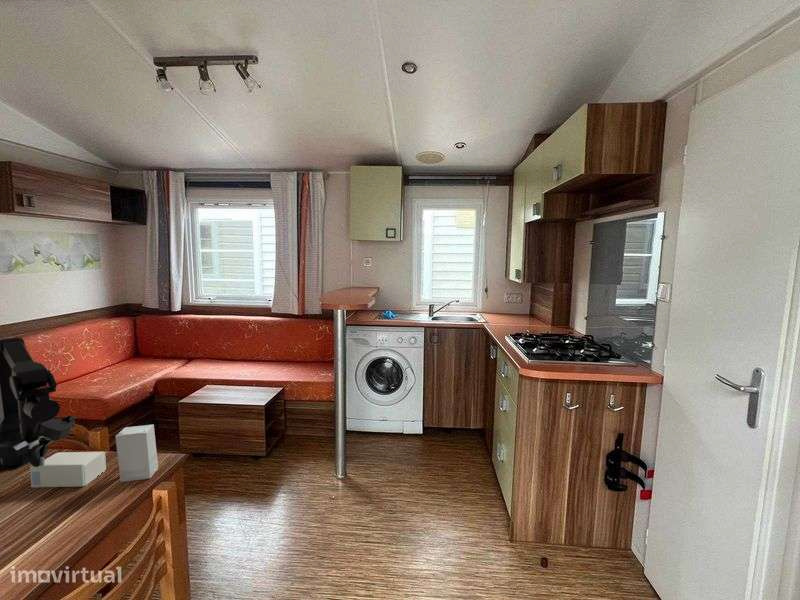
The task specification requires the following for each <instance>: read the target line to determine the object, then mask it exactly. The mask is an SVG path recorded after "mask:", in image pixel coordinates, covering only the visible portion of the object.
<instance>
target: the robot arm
mask: <svg viewBox="0 0 800 600" xmlns="http://www.w3.org/2000/svg"><path fill="white" fill-rule="evenodd" d="M57 386H58V384H57V381H56V379H55V377H54V374H53V373H52V372H51V370H50V369H47V367H46V366H45V365H44V364H43V363H40V362H36V361H35V360H34V359H33V358H32V356H31V355H30V353H29V352H28V350H27V347H26V343H25V340H24V339H23V337H19V336H16V337H7V338H6V337H5V338H0V470H16V469H18V468H21V467H22V466H24V465H25V464H28V463H30V465H33V466H34V467H38V466H39V463H40V457H44V458H45V457H46V455H47V451H48V450H49V449H48V448H49V446H50V444H51V443H53V442H54V441H56V442H57V441H60V440H62V438H65V437H66V436H69V435H70V432H71V430H72V429H73V428H75V427H76V418H75V416H74V415H72V414H68V415H66V416H65V417H63V418H61V417H60V418H56V417H57V416H58V414H59V412H60V409H61V406H60V404H59V402H57V401H56V400H54V399H52V398H51V397H50V393H51V394H52V393H56V392H57Z"/></svg>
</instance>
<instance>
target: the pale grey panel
mask: <svg viewBox="0 0 800 600" xmlns="http://www.w3.org/2000/svg"><path fill="white" fill-rule="evenodd" d="M44 460H45V457H40V463H39V466H38V467H34V466H33V465H32V464H30V465H29V473H30V475H29V476H30V484H31V486H30V487H31V488H59V487H60V488H63V487H64V488H65V487H66V488H67V487H69V488H70V487H71V488H72V487H73V488H74V487H84V485H85V479H84V464H45V461H44Z"/></svg>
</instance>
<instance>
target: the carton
mask: <svg viewBox="0 0 800 600" xmlns="http://www.w3.org/2000/svg"><path fill="white" fill-rule="evenodd" d="M44 461H45V464H84V479H85V485H84V486H85V487H86V486H87V485H89V484H90V483H91V482H93V481H94V480H95V479H97V478H98V477H99V476H100V475H102V474H103V473H105V472H106V471H107V463H106V461H107V459H106V451H75V452H74V451H71V452H70V451H68V452H67V451H66V452H60V451H59V452H56V453H54V454H53V455H50V456H49V457H47V458H44ZM105 470H106V471H105ZM102 472H103V473H102ZM101 473H102V474H101ZM98 475H99V476H98ZM97 476H98V477H97ZM84 486H83V487H84Z"/></svg>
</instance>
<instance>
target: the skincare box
mask: <svg viewBox="0 0 800 600" xmlns="http://www.w3.org/2000/svg"><path fill="white" fill-rule="evenodd" d="M155 433H156V432H155V424H145V425H137V426H136V425H135V426H127V427H124V428H122V430H120V432H118V433H117V434H115V443H116V444H115V446H116V453H117V460H118V463H117V464H118V470H119V479H120V483H124V482H125V483H126V482H130V481H131V482H133V481H139V480H140V481H141V480H147V479H151V478H152V477H153V475H155V473H156V472H157V471H158V469H159V462H158V454H157V443H156V435H155Z"/></svg>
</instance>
